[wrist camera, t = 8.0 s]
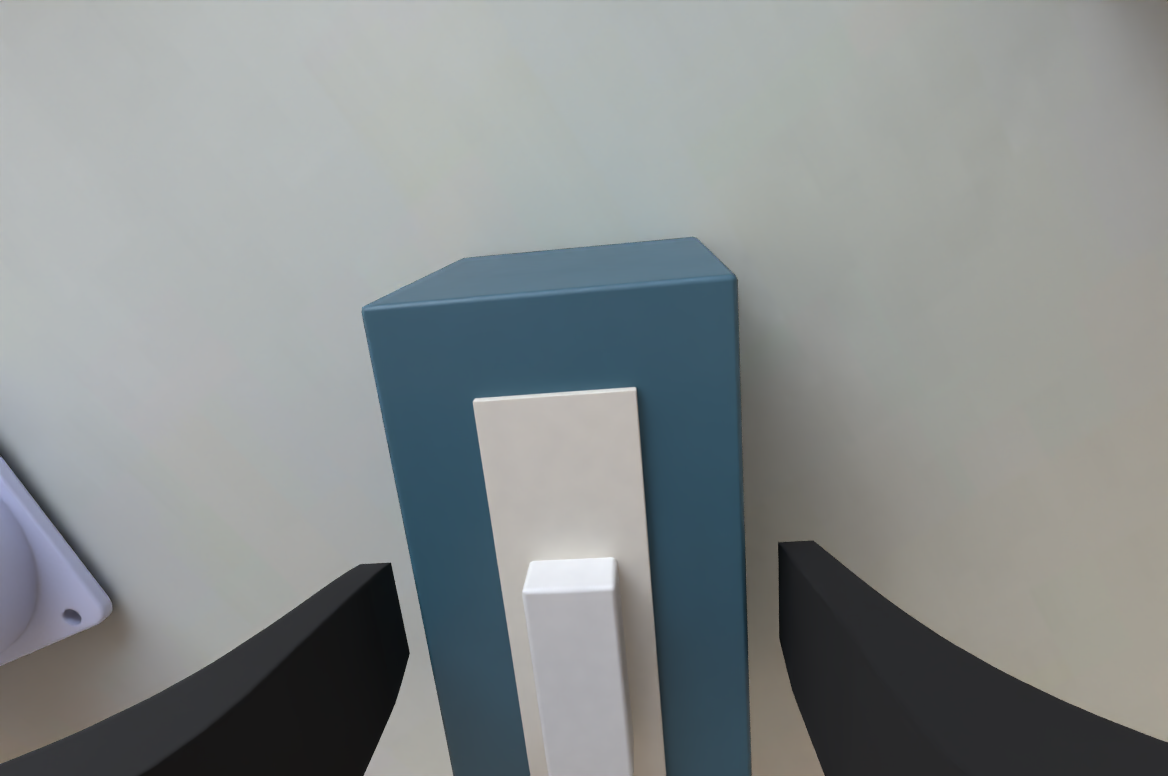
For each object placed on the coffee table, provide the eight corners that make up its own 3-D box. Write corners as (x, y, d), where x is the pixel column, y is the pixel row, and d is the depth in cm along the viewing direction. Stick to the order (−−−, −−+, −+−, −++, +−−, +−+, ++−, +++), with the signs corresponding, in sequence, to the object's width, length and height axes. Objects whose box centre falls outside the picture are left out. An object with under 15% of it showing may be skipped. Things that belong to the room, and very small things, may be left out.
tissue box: (717, 680, 18) (765, 964, 12) (524, 685, 19) (465, 961, 12) (697, 236, 15) (750, 284, 8) (460, 258, 15) (329, 320, 9)
